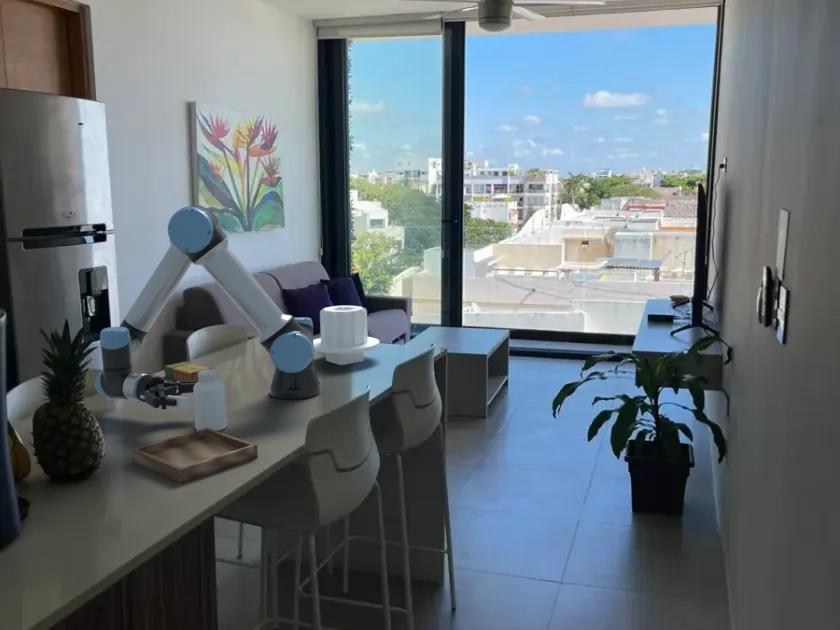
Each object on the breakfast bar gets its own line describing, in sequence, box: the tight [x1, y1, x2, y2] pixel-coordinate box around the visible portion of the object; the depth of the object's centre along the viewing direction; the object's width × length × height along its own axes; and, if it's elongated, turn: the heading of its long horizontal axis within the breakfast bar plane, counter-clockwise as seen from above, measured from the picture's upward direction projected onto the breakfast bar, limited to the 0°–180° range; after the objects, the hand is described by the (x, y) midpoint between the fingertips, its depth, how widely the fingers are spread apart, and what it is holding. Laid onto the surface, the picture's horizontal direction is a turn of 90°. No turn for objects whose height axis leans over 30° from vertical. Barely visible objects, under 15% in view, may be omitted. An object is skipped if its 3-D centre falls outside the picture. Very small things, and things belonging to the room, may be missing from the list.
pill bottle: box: [193, 369, 228, 432], centre depth 196 cm, size 8×8×15 cm
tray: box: [130, 428, 259, 484], centre depth 174 cm, size 20×20×3 cm
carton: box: [163, 361, 213, 381], centre depth 249 cm, size 8×16×4 cm, turn 48°
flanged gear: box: [313, 305, 381, 366], centre depth 270 cm, size 25×25×19 cm
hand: (206, 396), depth 196 cm, fingers open, 13 cm apart
